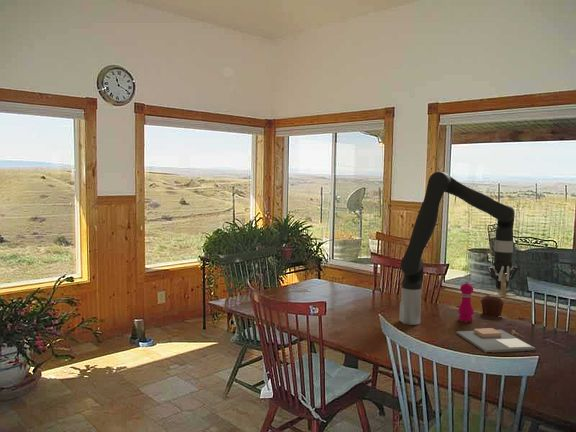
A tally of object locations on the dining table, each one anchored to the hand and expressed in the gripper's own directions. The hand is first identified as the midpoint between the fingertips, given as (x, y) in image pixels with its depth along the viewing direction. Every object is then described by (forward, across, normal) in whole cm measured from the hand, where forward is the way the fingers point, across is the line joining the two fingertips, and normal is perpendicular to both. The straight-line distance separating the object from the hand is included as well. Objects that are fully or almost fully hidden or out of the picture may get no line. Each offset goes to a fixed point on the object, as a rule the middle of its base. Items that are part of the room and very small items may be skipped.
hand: (501, 288), depth 211 cm
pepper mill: (+22, -2, +25) cm, 33 cm away
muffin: (+22, +17, +33) cm, 43 cm away
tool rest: (+21, -1, -12) cm, 24 cm away
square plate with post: (+3, 0, -1) cm, 3 cm away
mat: (+22, -6, -6) cm, 23 cm away
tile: (+20, -1, 0) cm, 20 cm away
